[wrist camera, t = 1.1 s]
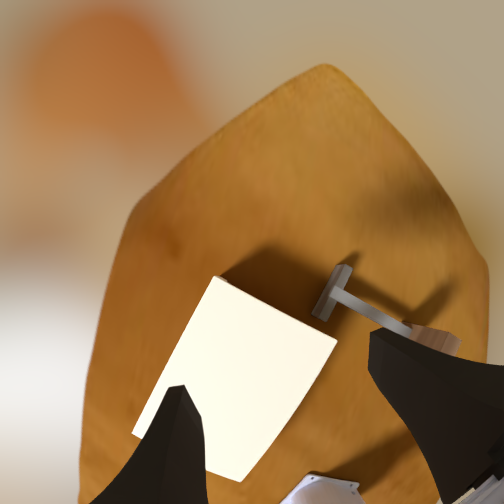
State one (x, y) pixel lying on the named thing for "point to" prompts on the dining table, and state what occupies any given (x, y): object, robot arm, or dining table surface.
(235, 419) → the white bridge block
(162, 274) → the dining table surface
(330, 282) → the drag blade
